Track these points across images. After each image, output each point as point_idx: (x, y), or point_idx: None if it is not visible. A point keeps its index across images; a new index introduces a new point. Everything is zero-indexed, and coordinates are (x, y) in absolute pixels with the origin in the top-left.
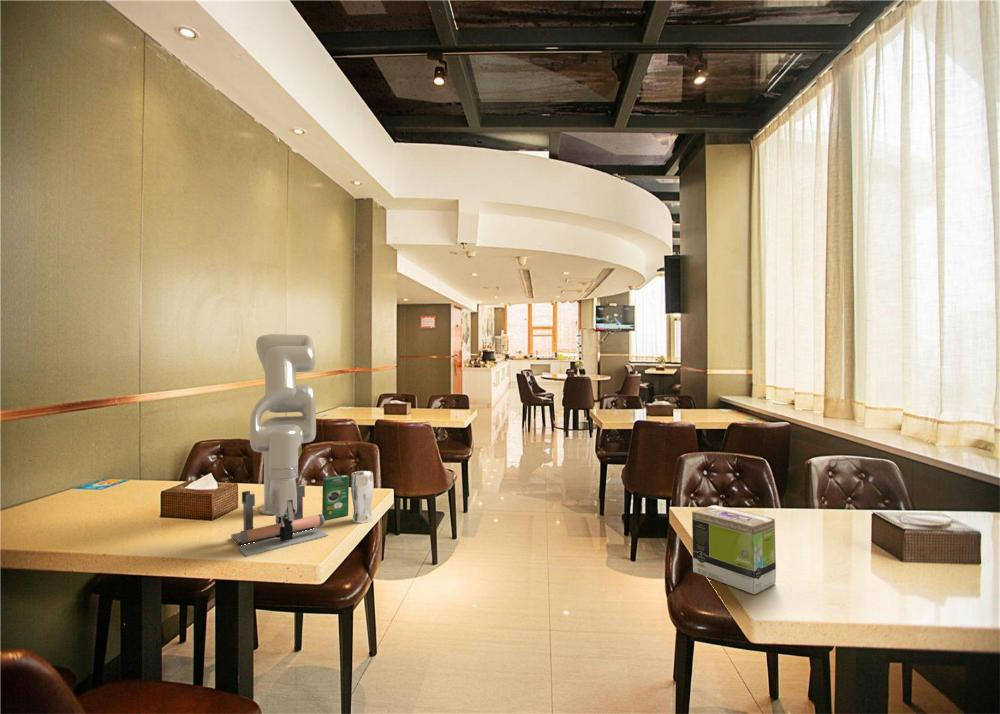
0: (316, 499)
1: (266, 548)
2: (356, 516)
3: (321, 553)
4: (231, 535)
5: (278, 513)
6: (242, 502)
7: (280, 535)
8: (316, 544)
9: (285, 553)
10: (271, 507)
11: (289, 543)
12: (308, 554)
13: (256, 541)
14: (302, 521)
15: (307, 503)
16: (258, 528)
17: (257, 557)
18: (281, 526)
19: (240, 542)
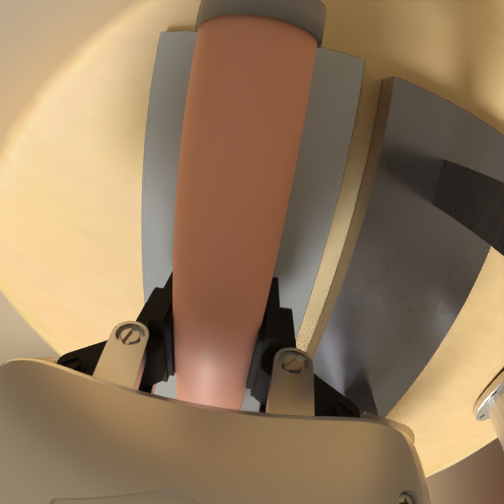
0: (465, 438)
1: (166, 160)
2: None
3: (17, 296)
4: None
5: (7, 383)
6: None
7: (169, 279)
8: (98, 339)
9: (64, 212)
10: (288, 480)
11: (155, 283)
12: (21, 267)
13: (363, 183)
14: None
15: (471, 426)
16: (219, 150)
17: (101, 83)
18: (176, 333)
19: (389, 87)
